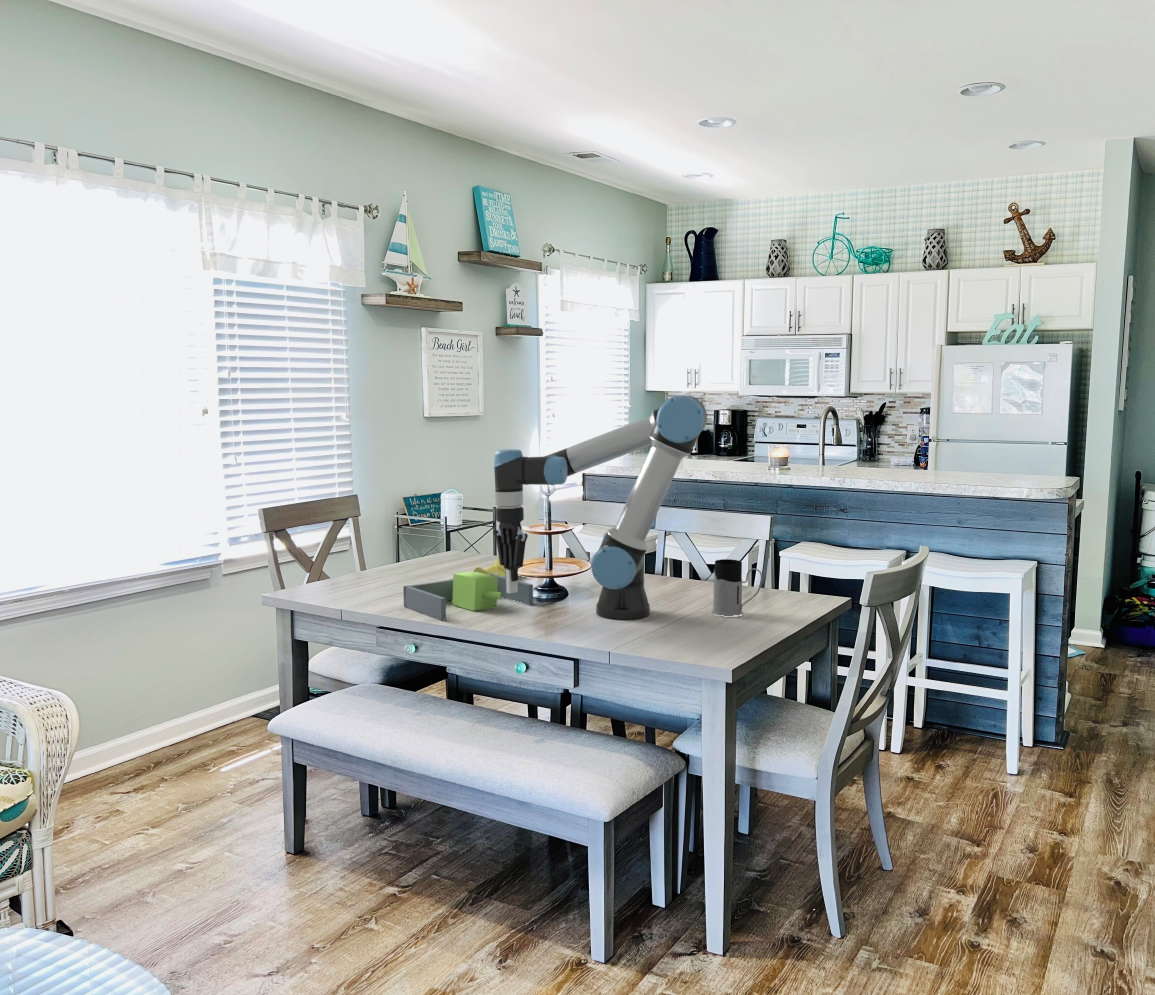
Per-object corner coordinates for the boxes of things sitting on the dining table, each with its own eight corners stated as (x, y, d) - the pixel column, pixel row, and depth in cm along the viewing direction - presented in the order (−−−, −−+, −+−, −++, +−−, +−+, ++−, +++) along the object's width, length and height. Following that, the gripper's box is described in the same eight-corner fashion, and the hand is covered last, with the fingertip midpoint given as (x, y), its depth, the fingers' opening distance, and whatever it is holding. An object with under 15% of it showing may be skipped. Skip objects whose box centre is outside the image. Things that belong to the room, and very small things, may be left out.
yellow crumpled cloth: (499, 579, 301) (474, 564, 303) (491, 598, 303) (466, 583, 306) (525, 564, 319) (500, 550, 322) (517, 582, 321) (493, 568, 324)
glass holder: (717, 609, 271) (718, 557, 269) (765, 614, 265) (767, 562, 263) (707, 615, 263) (708, 562, 262) (756, 621, 257) (757, 567, 255)
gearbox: (511, 611, 270) (512, 578, 269) (483, 615, 263) (485, 581, 262) (473, 599, 283) (474, 568, 282) (446, 603, 276) (447, 571, 275)
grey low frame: (532, 604, 276) (532, 584, 275) (441, 620, 256) (440, 598, 256) (492, 592, 292) (492, 573, 291) (403, 606, 272) (403, 586, 272)
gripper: (535, 507, 252) (537, 593, 254) (507, 503, 262) (509, 586, 264) (512, 509, 247) (514, 598, 250) (484, 506, 257) (487, 590, 260)
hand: (512, 592), depth 257 cm, fingers closed
